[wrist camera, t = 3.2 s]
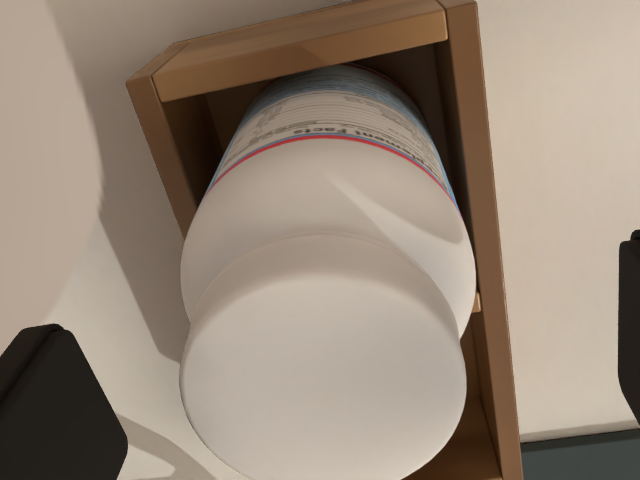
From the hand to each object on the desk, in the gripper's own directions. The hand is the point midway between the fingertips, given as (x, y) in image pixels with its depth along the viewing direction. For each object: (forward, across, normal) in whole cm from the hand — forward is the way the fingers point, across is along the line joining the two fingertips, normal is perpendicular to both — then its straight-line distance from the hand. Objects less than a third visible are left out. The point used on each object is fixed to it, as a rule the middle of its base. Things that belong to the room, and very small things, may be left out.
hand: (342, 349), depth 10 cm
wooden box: (+11, +1, +4) cm, 12 cm away
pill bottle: (+10, +1, 0) cm, 10 cm away
